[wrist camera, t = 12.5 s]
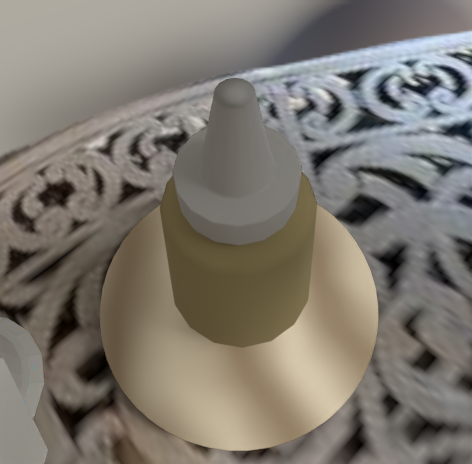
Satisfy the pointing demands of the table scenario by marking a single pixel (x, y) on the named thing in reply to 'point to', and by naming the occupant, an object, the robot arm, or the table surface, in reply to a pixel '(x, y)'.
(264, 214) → the squeeze bottle
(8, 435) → the robot arm
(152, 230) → the round beige plate
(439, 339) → the table surface
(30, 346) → the french press
